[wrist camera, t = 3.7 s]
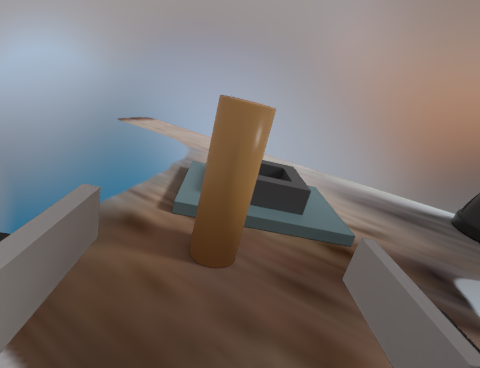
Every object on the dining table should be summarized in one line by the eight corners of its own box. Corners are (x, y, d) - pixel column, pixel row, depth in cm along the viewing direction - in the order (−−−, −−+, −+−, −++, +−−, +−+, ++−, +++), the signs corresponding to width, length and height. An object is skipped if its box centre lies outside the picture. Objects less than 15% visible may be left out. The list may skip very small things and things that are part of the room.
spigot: (234, 243, 27) (271, 106, 23) (235, 271, 23) (281, 111, 18) (192, 235, 27) (220, 93, 22) (185, 263, 23) (219, 96, 18)
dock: (312, 194, 48) (321, 168, 46) (350, 246, 33) (366, 211, 31) (191, 169, 45) (196, 140, 43) (172, 212, 30) (178, 172, 28)
